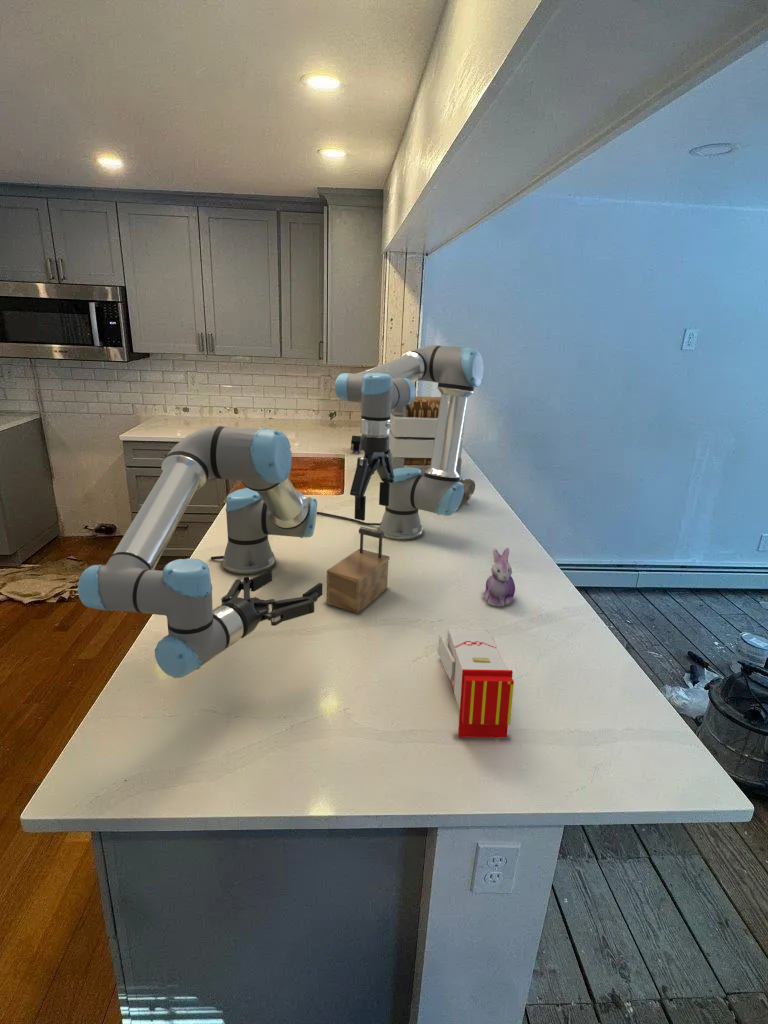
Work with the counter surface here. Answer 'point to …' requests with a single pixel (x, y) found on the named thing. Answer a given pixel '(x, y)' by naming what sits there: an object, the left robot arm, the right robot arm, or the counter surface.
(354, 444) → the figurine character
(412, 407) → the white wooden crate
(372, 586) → the chest
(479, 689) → the toy
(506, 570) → the figurine
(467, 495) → the fossil
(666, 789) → the counter surface
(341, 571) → the lid
